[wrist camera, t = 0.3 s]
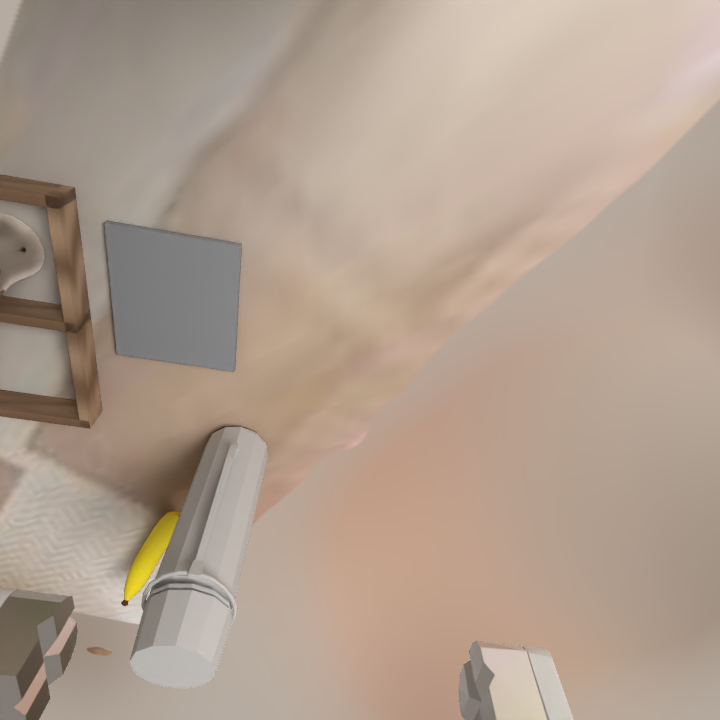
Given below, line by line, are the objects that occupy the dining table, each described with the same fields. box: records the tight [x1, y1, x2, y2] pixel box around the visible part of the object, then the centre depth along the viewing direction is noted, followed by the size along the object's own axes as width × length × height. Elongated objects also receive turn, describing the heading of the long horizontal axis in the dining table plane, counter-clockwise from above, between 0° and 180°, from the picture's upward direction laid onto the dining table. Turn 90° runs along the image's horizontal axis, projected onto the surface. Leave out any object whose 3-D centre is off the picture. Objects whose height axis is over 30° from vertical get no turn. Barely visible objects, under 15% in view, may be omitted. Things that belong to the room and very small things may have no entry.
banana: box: [121, 511, 180, 606], centre depth 66 cm, size 3×19×6 cm, turn 148°
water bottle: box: [130, 427, 268, 688], centre depth 49 cm, size 9×8×25 cm
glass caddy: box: [0, 175, 102, 428], centre depth 49 cm, size 25×13×3 cm, turn 170°
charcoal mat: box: [104, 221, 242, 372], centre depth 50 cm, size 14×12×1 cm
